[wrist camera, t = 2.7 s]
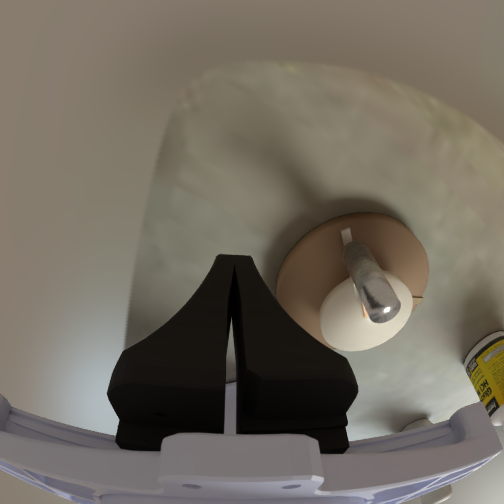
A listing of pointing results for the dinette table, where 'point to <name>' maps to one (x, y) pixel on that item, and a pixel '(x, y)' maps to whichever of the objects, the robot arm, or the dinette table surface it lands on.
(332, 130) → the dinette table surface
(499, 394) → the pill bottle
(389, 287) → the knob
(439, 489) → the salt shaker
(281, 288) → the base
